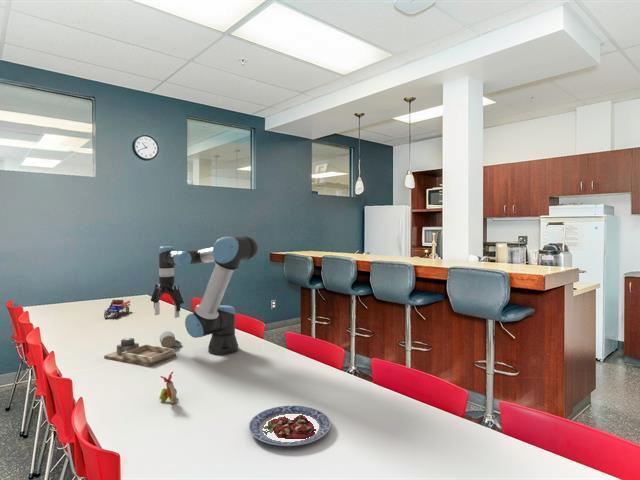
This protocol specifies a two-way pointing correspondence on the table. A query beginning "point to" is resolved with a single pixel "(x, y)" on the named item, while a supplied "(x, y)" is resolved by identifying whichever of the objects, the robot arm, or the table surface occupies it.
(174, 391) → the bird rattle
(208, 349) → the robot arm
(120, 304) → the toy truck
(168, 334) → the ceramic mug
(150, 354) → the board
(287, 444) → the ceramic plate
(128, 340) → the wheel
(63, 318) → the table surface
